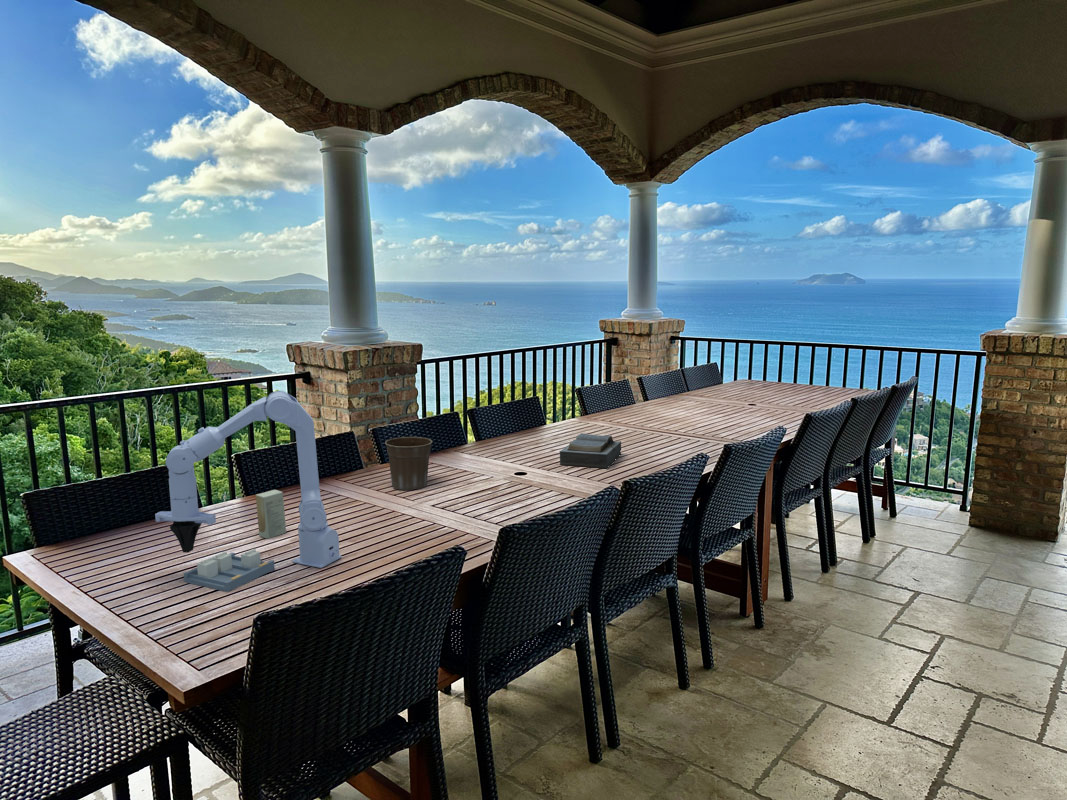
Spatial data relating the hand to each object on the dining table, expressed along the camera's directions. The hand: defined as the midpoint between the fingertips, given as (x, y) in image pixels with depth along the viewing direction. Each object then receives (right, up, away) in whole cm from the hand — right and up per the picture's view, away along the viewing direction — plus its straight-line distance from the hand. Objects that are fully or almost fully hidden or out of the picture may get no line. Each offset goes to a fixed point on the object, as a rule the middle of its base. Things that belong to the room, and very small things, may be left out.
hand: (188, 551), depth 168 cm
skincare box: (+9, -2, +30) cm, 31 cm away
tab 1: (+6, -6, -2) cm, 8 cm away
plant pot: (+40, +6, +78) cm, 88 cm away
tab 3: (+14, -5, +4) cm, 15 cm away
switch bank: (+10, -6, +1) cm, 11 cm away
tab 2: (+7, -5, +2) cm, 9 cm away
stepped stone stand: (+106, +11, +113) cm, 156 cm away
